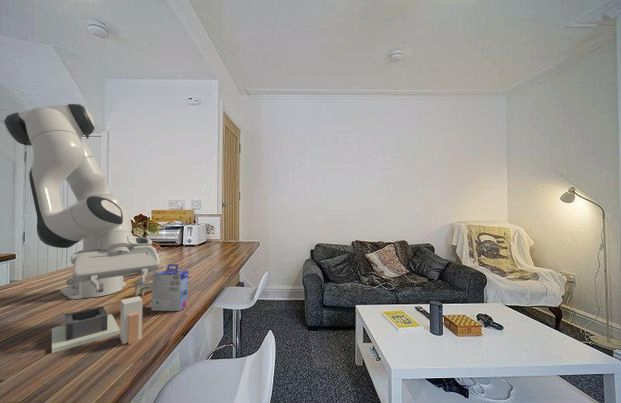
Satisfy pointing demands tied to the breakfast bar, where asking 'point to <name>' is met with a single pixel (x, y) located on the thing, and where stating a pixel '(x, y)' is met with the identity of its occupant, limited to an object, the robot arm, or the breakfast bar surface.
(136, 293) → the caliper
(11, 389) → the breakfast bar surface
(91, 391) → the breakfast bar surface
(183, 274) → the ink cartridge box
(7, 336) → the breakfast bar surface
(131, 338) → the cream square peg
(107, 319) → the socket
